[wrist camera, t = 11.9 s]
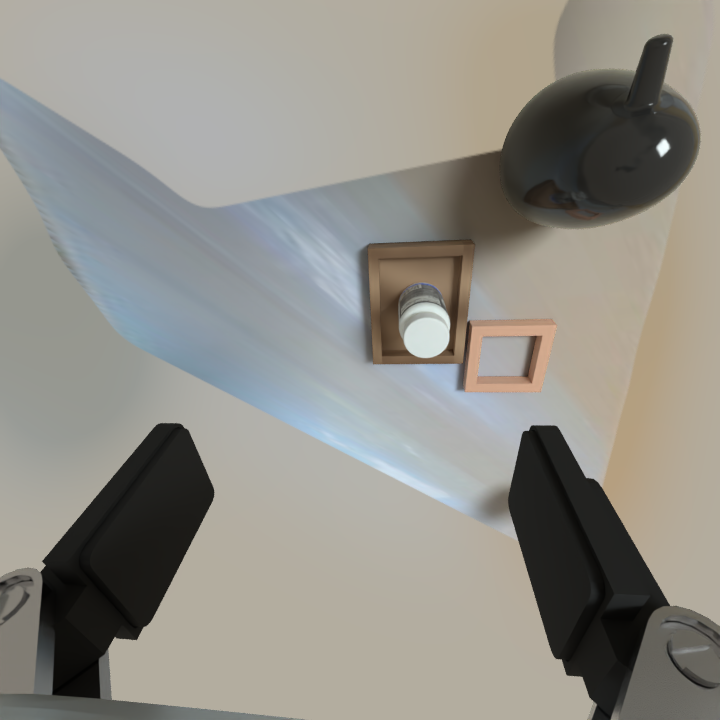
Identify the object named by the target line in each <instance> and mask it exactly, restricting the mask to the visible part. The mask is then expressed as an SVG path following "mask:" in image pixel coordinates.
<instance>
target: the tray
mask: <svg viewBox="0 0 720 720" xmlns="http://www.w3.org/2000/svg"><path fill="white" fill-rule="evenodd" d="M474 249H475V244H474V243H473V241H472V240H471V239H470V240H446V241H422V242H398V243H374V244H369V246H368V265H369V286H370V306H371V327H372V348H373V364H460V363H463V356H464V347H465V337H466V327H467V317H468V307H469V298H470V288H471V278H472V268H473V258H474ZM419 282H424V283H429V284H432V285H434V286H435V287H436V288H437V289H438V290H439V291H440V292H441V294H442V297H443V300H444V303H445V306H446V309H447V312H448V315H449V319H450V331H449V343H448V345H447V347H446V348H445V350H444V351H443V352H442V353H440V354H439V355H437V356H434V357H431V358H420V357H417V356H414V355H413V354H411V353H410V352H409V351H408V350H407V349H406V347H405V345H404V341H403V339H402V337H401V335H400V332H399V320H398V319H399V317H398V304H399V299H400V296H401V294H402V292H403V291H404V290H405V289H406V288H407V287H409V286H410V285H412V284H414V283H419Z"/></svg>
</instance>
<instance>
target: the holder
mask: <svg viewBox="0 0 720 720" xmlns="http://www.w3.org/2000/svg"><path fill="white" fill-rule="evenodd" d="M556 328H557V324H556V323H555V322H554V321H553V320H552V319H529V320H475V321H470V323H469V333H468V342H467V351H466V361H465V370H464V380H463V387H464V390H465V392H541V389H542V385H543V381H544V377H545V373H546V369H547V365H548V361H549V357H550V353H551V349H552V344H553V340H554V336H555V332H556ZM483 336H536V341H535V346H534V350H533V355H532V360H531V364H530V369H529V373H528V376H512V377H477V376H478V368H479V360H480V353H481V345H482V337H483Z"/></svg>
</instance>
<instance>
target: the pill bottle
mask: <svg viewBox="0 0 720 720" xmlns="http://www.w3.org/2000/svg"><path fill="white" fill-rule="evenodd" d="M398 317H399V319H398V320H399V332H400V335H401V337H402V339H403V341H404V345H405V347H406V349H407V350H408V351H409V352H410V353H411V354H413V355H414V356H417V357H420V358H431V357H434V356H437V355H439V354H440V353H442V352H443V351H444V350H445V348H446V347H447V345H448V343H449V331H450V319H449V315H448V312H447V309H446V306H445V303H444V300H443V297H442V294H441V292H440V291H439V290H438V289H437V288H436V287H435V286H434V285H432V284H429V283H424V282H419V283H414V284H412V285H410V286H409V287H407V288H406V289H405V290H404V291H403V292H402V294H401V296H400V299H399V304H398Z"/></svg>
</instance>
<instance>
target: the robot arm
mask: <svg viewBox="0 0 720 720" xmlns="http://www.w3.org/2000/svg"><path fill="white" fill-rule="evenodd" d="M213 498H214V488H213V486H212V483H211V481H210V479H209V476H208V474H207V472H206V469H205V467H204V465H203V463H202V461H201V458H200V456H199V453H198V451H197V449H196V447H195V444H194V442H193V440H192V438H191V435H190V433H189V431H188V430H187V429H185V428H184V427H183V425H181V424H177V423H175V424H174V423H160V424H158V425H156V426H155V427H154V428H153V430H152V431H151V432H150V433H149V434H148V436H147V437H146V438H145V439H144V440H143V442H142V443H141V444H140V445H139V446H138V448H137V449H136V450H135V451H134V452H133V454H132V455H131V456H130V457H129V458H128V459H127V461H126V462H125V463H124V464H123V465H122V467H121V468H120V469H119V470H118V472H117V473H116V474H115V475H114V476H113V478H112V479H111V480H110V481H109V482H108V483H107V485H106V486H105V487H104V488H103V489H102V491H101V492H100V493H99V494H98V495H97V496H96V498H95V499H94V500H93V501H92V502H91V504H90V505H89V506H88V507H87V508H86V510H85V511H84V512H83V513H82V514H81V516H80V517H79V518H78V519H77V520H76V522H75V523H74V524H73V525H72V527H71V528H70V529H69V530H68V531H67V532H66V534H65V535H64V536H63V537H62V538H61V540H60V541H59V542H58V543H57V544H56V545H55V547H54V548H53V549H52V550H51V551H50V553H49V554H48V555H47V556H46V557H45V559H44V560H43V561H42V562H43V563H44V564H45V565H46V566H45V567H44V569H43V570H42V571H41V572H39V571H38V570H37V569H33V568H24V569H18V570H15V571H13V572H10V573H8V574H5V575H3V576H2V577H1V578H0V720H303V719H293V718H284V717H274V716H264V715H256V714H246V713H236V712H227V711H217V710H207V709H197V708H186V707H178V706H166V705H157V704H147V703H137V702H127V701H116V700H112V698H111V684H110V669H109V653H108V648H109V646H110V644H111V642H112V641H113V639H114V637H116V638H119V639H131V640H137V639H138V637H139V635H140V633H141V631H142V629H143V627H145V626H147V625H148V624H149V623H150V622H151V620H152V619H153V617H154V615H155V613H156V611H157V609H158V607H159V605H160V603H161V601H162V599H163V597H164V595H165V593H166V591H167V589H168V587H169V586H170V584H171V582H172V580H173V578H174V575H175V574H176V572H177V570H178V568H179V566H180V564H181V562H182V560H183V558H184V556H185V554H186V552H187V550H188V548H189V546H190V544H191V542H192V540H193V538H194V536H195V534H196V532H197V531H198V529H199V527H200V525H201V523H202V521H203V519H204V517H205V515H206V513H207V511H208V509H209V507H210V505H211V503H212V501H213ZM508 503H509V510H510V514H511V517H512V520H513V524H514V527H515V530H516V534H517V537H518V541H519V544H520V547H521V551H522V554H523V557H524V561H525V564H526V568H527V571H528V574H529V578H530V581H531V584H532V587H533V591H534V595H535V598H536V601H537V605H538V608H539V611H540V615H541V618H542V621H543V625H544V628H545V632H546V635H547V638H548V642H549V645H550V648H551V651H552V653H553V655H554V657H555V658H556V659H562V662H563V665H564V668H565V671H566V674H567V675H568V676H581V677H583V680H584V682H585V685H586V688H587V691H588V694H589V697H590V698H591V699H592V700H593V701H594V702H593V705H592V708H591V711H590V714H589V717H588V719H587V720H720V626H718V625H717V624H716V623H714V622H713V621H711V620H710V619H709V618H707V617H705V616H703V615H701V614H699V613H697V612H695V611H692V610H690V609H686V608H682V607H678V606H670V605H669V603H668V602H667V600H666V598H665V596H664V595H663V593H662V591H661V589H660V587H659V586H658V584H657V582H656V581H655V579H654V577H653V576H652V574H651V572H650V570H649V568H648V567H647V565H646V563H645V562H644V560H643V558H642V556H641V555H640V553H639V551H638V549H637V548H636V546H635V544H634V543H633V541H632V539H631V537H630V536H629V534H628V532H627V530H626V529H625V527H624V525H623V523H622V522H621V520H620V518H619V517H618V515H617V513H616V512H615V510H614V508H613V506H612V504H611V503H610V501H609V499H608V497H607V496H606V494H605V492H604V491H603V489H602V487H601V486H600V485H599V483H598V482H597V481H595V480H594V479H590V478H586V477H585V476H584V474H583V472H582V470H581V468H580V466H579V465H578V463H577V461H576V459H575V457H574V455H573V454H572V452H571V450H570V448H569V446H568V444H567V443H566V441H565V439H564V437H563V435H562V434H561V432H560V430H559V428H558V427H557V426H534V425H533V426H531V427H530V430H529V431H524V432H523V434H522V438H521V442H520V447H519V451H518V456H517V461H516V465H515V470H514V474H513V479H512V483H511V488H510V492H509V498H508Z"/></svg>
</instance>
